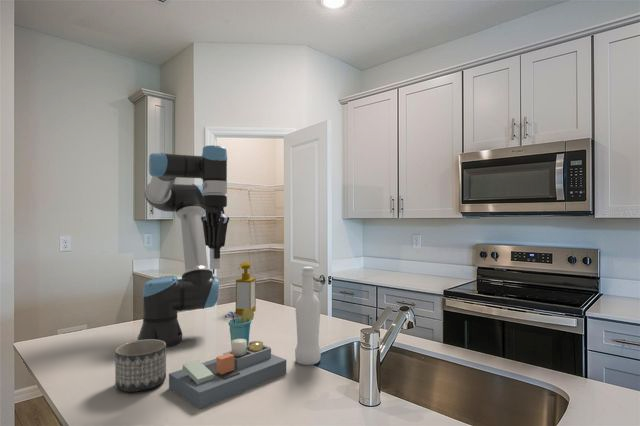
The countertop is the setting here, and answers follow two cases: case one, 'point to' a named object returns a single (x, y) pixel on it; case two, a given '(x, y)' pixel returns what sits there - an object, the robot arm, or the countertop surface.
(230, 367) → the slider knob
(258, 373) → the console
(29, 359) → the countertop surface
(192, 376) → the block
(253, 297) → the soap bottle
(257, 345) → the button brass
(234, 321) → the cup
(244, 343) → the button ivory
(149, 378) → the planter
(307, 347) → the bottle
